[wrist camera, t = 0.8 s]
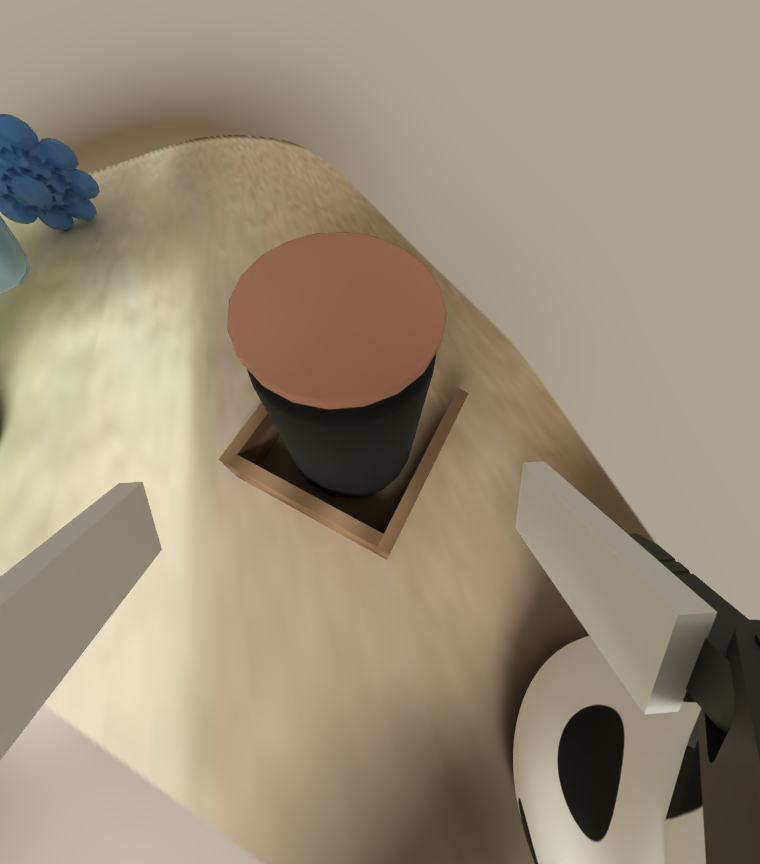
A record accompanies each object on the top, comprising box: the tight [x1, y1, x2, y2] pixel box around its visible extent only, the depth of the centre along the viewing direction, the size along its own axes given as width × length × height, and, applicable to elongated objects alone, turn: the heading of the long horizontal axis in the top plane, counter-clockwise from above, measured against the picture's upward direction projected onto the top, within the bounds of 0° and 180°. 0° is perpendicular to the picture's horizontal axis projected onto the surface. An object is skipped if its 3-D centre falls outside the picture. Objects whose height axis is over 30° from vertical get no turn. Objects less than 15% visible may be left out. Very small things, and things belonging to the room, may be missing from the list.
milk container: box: [513, 636, 706, 864], centre depth 17 cm, size 17×17×18 cm
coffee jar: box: [227, 232, 446, 498], centre depth 26 cm, size 11×11×18 cm
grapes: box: [0, 114, 100, 230], centre depth 39 cm, size 12×7×12 cm, turn 120°
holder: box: [219, 389, 468, 559], centre depth 32 cm, size 15×15×4 cm
